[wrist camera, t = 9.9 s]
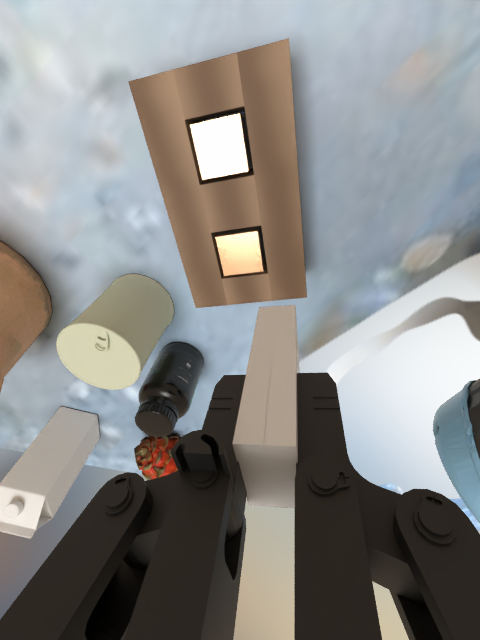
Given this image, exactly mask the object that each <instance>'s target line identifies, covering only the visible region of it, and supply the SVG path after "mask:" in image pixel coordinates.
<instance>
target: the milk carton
mask: <svg viewBox="0 0 480 640" xmlns="http://www.w3.org/2000/svg"><path fill="white" fill-rule="evenodd" d="M99 438H100V433H99V425H98V416H97V415H95V414H91V413H87V412H83V411H78V410H74V409H70V408H66V407H60V408H59V410H58V411H57V412H56V413H55V415H54V416H53V417H52V418H51V420H50V421H49V422H48V423H47V425H46V426H45V427H44V429H43V430H42V431H41V432H40V434H39V435H38V436H37V437H36V439H35V440H34V441H33V442H32V444H31V445H30V446H29V448H28V449H27V450H26V451H25V453H24V454H23V455H22V456H21V458H20V459H19V460H18V461H17V463H16V464H15V466H14V467H13V468H12V469H11V470H10V472H9V473H8V474H7V475H6V477H5V478H4V479H3V480H2V482H1V483H0V531H1V532H5V533H9V534H13V535H17V536H22V537H26V538H31V537H32V536H33V534H34V532H35V531H36V529H38V528H40V527H41V526H42V525H44V524H45V523H46V522H48V521H49V520H51V519H52V518H53V516H54V515H55V513H56V511H57V509H58V508H59V506H60V504H61V503H62V501H63V499H64V498H65V496H66V494H67V493H68V491H69V489H70V488H71V486H72V484H73V482H74V480H75V479H76V477H77V476H78V474H79V472H80V470H81V469H82V467H83V465H84V464H85V462H86V460H87V459H88V457H89V455H90V453H91V452H92V450H93V448H94V447H95V445H96V443H97V442H98V440H99Z"/></svg>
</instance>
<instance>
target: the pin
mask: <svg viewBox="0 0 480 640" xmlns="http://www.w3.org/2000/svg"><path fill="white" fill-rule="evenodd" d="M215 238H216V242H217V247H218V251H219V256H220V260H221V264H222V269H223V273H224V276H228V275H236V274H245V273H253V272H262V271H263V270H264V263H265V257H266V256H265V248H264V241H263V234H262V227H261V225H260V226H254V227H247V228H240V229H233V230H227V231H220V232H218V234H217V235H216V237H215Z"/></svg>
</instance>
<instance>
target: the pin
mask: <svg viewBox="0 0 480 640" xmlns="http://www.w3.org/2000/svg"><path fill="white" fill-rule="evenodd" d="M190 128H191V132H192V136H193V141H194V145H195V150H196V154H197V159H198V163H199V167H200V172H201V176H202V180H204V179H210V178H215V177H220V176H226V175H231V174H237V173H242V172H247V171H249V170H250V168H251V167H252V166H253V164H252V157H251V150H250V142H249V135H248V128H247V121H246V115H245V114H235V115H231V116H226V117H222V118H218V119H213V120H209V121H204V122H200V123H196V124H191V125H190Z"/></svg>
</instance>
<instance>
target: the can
mask: <svg viewBox="0 0 480 640" xmlns="http://www.w3.org/2000/svg"><path fill="white" fill-rule="evenodd" d="M173 315H174V305H173V302H172V299H171V297H170V295H169V294H168V292H167V291H166V290H165V289H164V287H163V286H161V285H160V284H159V283H158V282H156V281H155V280H153V279H151V278H149V277H147V276H143V275H139V274H127V275H123V276H121V277H119V278H117V279H116V280H115V281H114V282H113V283H112V284H111V286H110V287H109V288H108V289H107V290H106V291H105V292H104V293H103V294H102V295H101V296H100V297H99V298H98V299H97V300H96V301H95V302H93V303H92V304H91V305H90V306H89V307H88V308H87V309H86V310H85V311H84V312H83V313H82V314H81V315H79V316H78V317H77V318H76V319H75V320H74V321H73V322H72V323H70V324H69V325H68V326H67V327H65V328H64V329H63V330H62V331H61V332H60V333H59V335H58V338H57V342H56V347H57V352H58V355H59V357H60V359H61V361H62V362H63V364H64V365H65V366H66V367H67V369H68V370H69V371H70V372H72V373H73V374H74V375H75V376H76V377H78V378H79V379H81V380H82V381H84V382H86V383H88V384H90V385H93V386H96V387H99V388H103V389H111V390H116V389H123V388H126V387H129V386H131V385H132V384H133V383H135V382H136V381H137V379H138V378H139V376H140V373H141V371H142V369H143V367H144V365H145V364H146V362H147V360H148V358H149V356H150V355H151V353H152V351H153V349H154V348H155V346H156V344H157V342H158V341H159V339H160V337H161V336H162V334H163V332H164V331H165V329H166V327H167V326H168V325H169V324H170V323H171V321H172V319H173Z"/></svg>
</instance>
